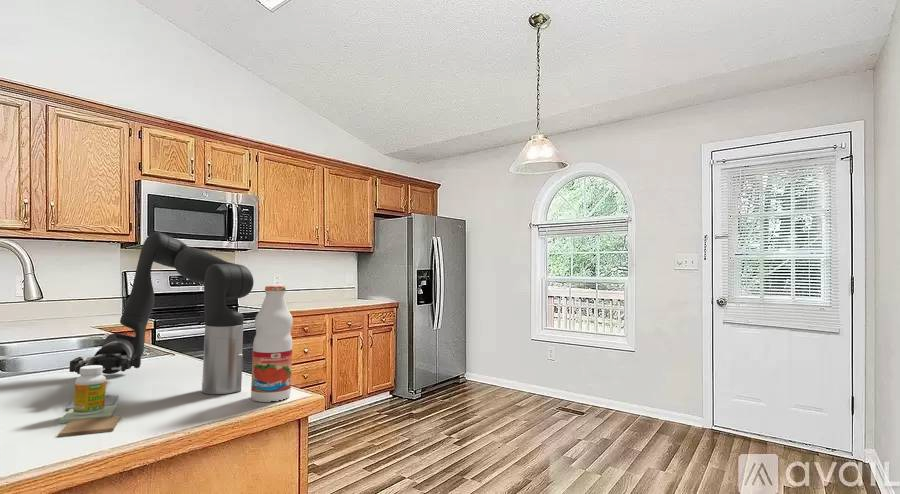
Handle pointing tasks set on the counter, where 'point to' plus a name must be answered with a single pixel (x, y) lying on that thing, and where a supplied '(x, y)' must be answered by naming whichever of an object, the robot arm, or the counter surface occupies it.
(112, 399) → the slate pad
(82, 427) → the walnut pad
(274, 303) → the fruit juice
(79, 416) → the sage pad
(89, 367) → the supplement bottle
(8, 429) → the counter surface
